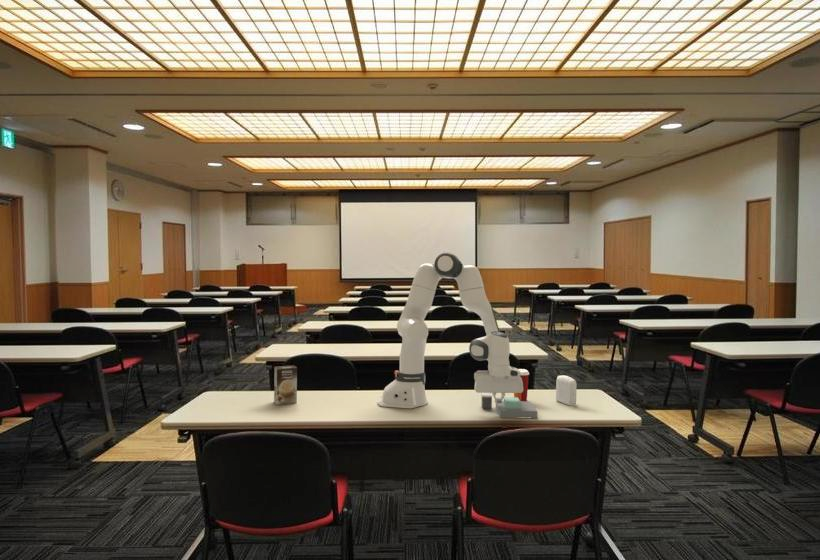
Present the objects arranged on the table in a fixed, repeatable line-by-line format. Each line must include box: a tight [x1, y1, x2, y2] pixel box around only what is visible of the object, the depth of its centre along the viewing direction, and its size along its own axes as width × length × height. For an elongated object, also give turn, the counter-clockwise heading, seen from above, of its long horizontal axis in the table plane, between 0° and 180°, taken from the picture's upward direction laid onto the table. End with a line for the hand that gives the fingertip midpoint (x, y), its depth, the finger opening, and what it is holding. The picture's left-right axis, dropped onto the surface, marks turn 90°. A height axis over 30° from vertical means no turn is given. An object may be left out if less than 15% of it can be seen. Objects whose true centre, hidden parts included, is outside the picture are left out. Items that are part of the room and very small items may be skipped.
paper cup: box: [513, 368, 530, 401], centre depth 229 cm, size 8×8×14 cm
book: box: [555, 375, 578, 407], centre depth 226 cm, size 10×4×12 cm, turn 25°
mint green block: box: [503, 396, 521, 409], centre depth 211 cm, size 6×8×2 cm
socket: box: [495, 400, 538, 419], centre depth 211 cm, size 15×14×3 cm
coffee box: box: [273, 365, 298, 406], centre depth 225 cm, size 9×6×16 cm
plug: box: [480, 393, 493, 410], centre depth 218 cm, size 4×4×6 cm
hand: (498, 402), depth 211 cm, fingers closed
